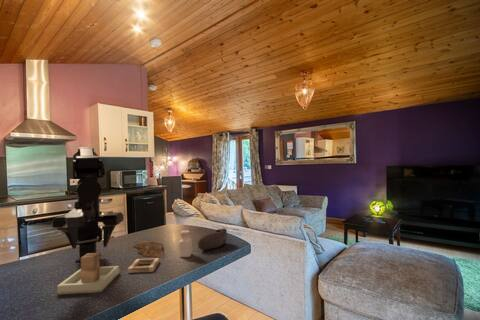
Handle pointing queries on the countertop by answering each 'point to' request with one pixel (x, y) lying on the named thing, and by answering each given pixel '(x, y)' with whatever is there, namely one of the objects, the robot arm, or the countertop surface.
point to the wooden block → (90, 268)
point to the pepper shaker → (185, 244)
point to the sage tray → (75, 285)
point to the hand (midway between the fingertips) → (89, 247)
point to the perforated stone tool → (213, 239)
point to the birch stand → (135, 268)
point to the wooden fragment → (150, 249)
